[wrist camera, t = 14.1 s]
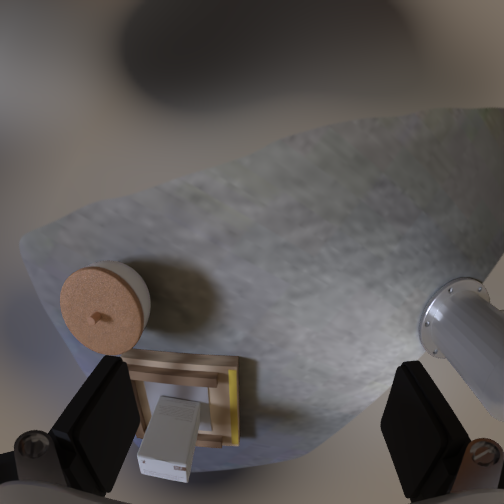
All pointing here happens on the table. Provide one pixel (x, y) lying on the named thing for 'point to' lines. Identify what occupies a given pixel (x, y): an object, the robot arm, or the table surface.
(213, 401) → the frame
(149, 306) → the lidded jar
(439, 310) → the robot arm
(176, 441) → the skincare box
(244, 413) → the table surface
